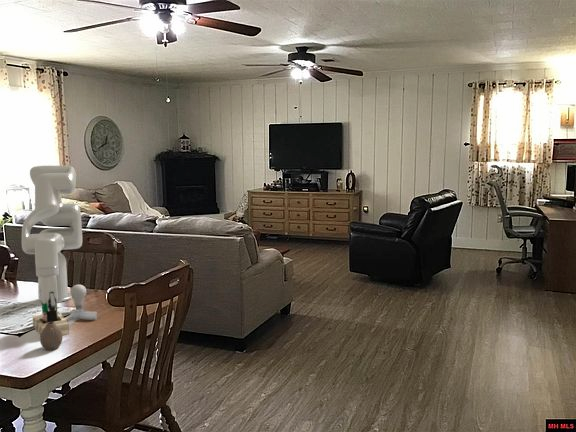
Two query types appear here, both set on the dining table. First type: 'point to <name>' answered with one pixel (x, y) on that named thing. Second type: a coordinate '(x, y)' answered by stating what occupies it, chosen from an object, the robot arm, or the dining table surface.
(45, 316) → the soda can
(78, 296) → the lightbulb
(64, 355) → the dining table surface
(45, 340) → the brown egg-shaped piece
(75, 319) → the grey angled tube
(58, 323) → the bore beam
